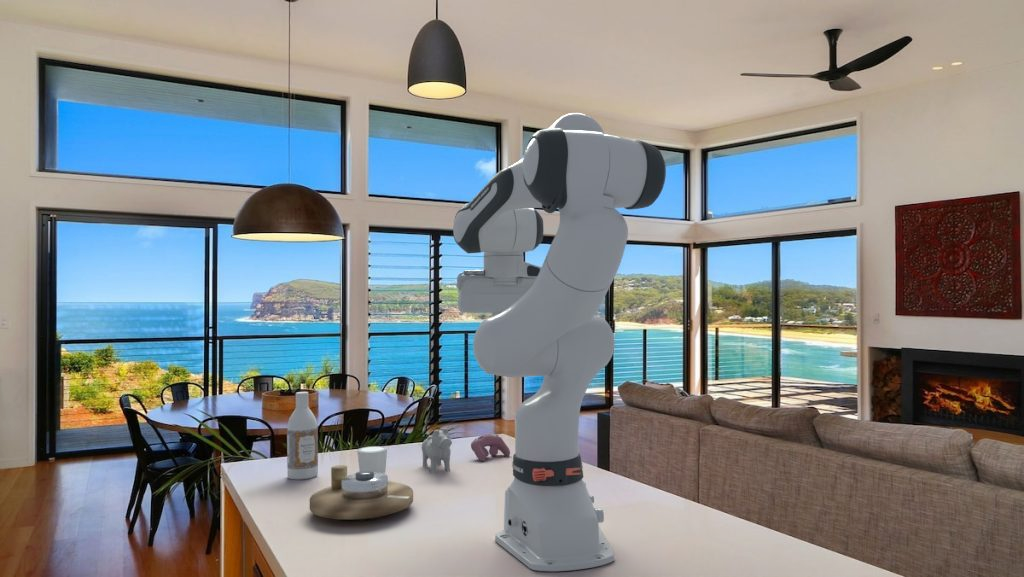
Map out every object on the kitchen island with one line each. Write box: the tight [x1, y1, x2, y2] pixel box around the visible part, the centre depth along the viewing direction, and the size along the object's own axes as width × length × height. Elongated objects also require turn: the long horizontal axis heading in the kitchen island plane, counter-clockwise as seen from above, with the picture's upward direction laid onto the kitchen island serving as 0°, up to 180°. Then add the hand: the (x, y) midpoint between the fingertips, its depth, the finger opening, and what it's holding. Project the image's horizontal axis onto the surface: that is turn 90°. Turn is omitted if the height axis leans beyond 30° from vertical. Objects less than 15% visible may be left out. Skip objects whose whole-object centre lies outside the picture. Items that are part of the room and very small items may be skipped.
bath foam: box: [286, 391, 319, 481], centre depth 159 cm, size 7×7×20 cm
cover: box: [342, 471, 389, 500], centre depth 133 cm, size 9×9×4 cm
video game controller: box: [470, 433, 511, 462], centre depth 176 cm, size 10×5×7 cm, turn 130°
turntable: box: [309, 464, 414, 520], centre depth 132 cm, size 20×20×6 cm
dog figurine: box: [421, 427, 453, 474], centre depth 163 cm, size 5×13×11 cm, turn 27°
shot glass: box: [356, 445, 388, 474], centre depth 156 cm, size 7×7×7 cm
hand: (504, 333), depth 146 cm, fingers closed
